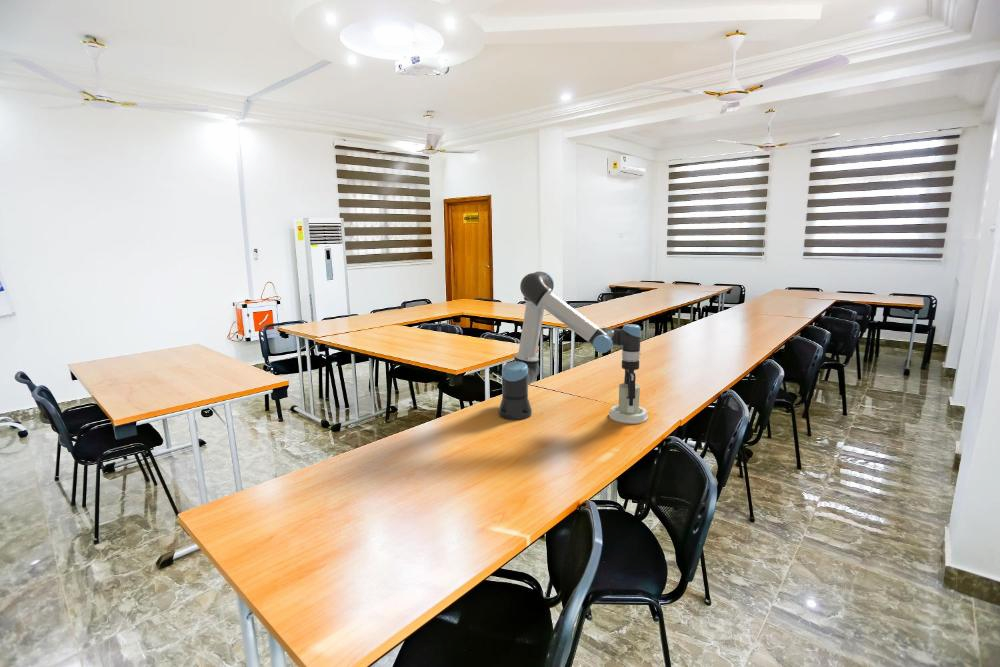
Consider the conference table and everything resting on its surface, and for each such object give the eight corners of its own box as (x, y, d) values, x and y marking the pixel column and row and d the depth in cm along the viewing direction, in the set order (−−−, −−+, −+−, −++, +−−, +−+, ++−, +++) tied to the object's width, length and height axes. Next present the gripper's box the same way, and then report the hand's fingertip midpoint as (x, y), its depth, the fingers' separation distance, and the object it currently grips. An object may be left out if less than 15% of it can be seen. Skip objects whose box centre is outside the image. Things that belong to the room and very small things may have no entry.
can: (613, 409, 224) (614, 383, 222) (630, 406, 228) (631, 380, 226) (627, 415, 216) (628, 389, 214) (643, 412, 220) (644, 386, 217)
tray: (611, 423, 215) (611, 416, 214) (607, 409, 232) (607, 403, 231) (651, 424, 213) (651, 417, 213) (644, 410, 230) (644, 404, 229)
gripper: (643, 366, 207) (641, 417, 211) (635, 354, 228) (633, 401, 232) (625, 365, 207) (623, 416, 212) (618, 353, 228) (616, 400, 233)
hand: (628, 408), depth 222 cm, fingers closed on can, 9 cm apart
